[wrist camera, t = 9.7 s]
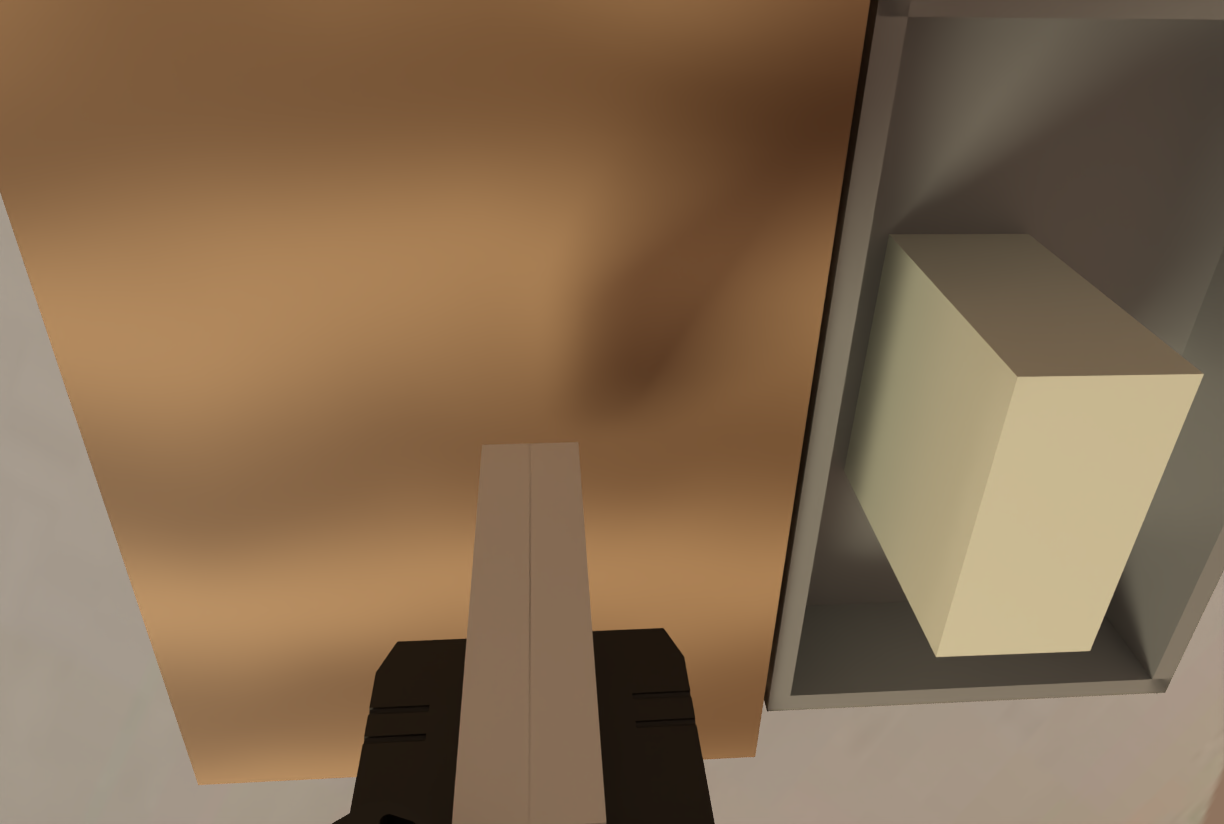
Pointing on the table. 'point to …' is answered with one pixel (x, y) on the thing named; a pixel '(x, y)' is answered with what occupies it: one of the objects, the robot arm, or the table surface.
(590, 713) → the robot arm
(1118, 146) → the tray
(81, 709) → the table surface
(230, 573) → the board
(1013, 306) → the block
